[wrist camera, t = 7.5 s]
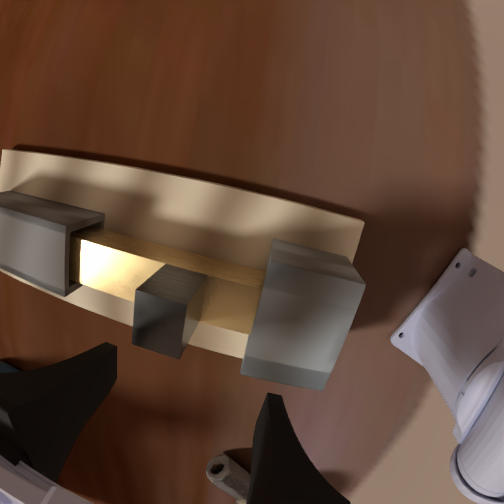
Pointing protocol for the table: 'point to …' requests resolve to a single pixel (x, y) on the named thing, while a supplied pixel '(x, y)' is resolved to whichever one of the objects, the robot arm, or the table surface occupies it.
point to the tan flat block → (166, 287)
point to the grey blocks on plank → (195, 241)
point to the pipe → (229, 477)
